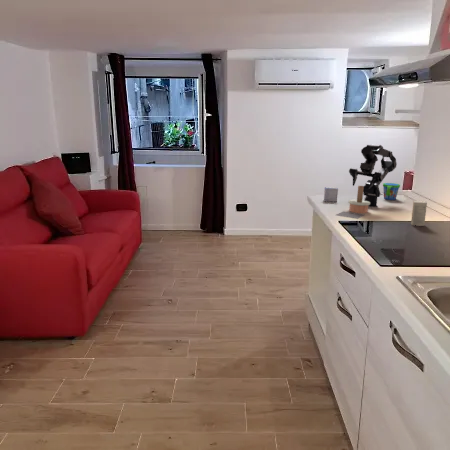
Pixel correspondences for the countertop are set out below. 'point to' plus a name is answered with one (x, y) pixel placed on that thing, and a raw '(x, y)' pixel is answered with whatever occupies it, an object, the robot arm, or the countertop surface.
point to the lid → (359, 198)
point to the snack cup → (390, 190)
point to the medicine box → (330, 194)
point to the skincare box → (418, 213)
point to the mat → (350, 215)
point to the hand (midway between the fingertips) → (360, 187)
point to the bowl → (358, 208)
